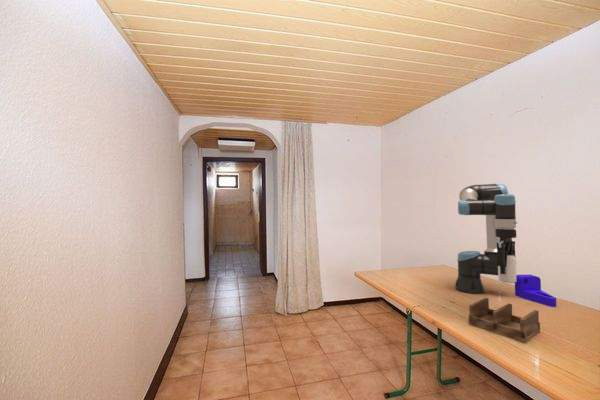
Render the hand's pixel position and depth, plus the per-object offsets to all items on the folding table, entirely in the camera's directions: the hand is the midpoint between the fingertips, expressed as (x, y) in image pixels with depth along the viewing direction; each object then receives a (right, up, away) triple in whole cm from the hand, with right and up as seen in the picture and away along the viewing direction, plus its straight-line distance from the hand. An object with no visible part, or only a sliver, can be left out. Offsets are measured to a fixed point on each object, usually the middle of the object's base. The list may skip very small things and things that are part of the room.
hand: (507, 280), depth 121 cm
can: (0, -1, 0) cm, 1 cm away
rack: (-7, -18, -7) cm, 20 cm away
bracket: (+35, -18, +24) cm, 46 cm away
